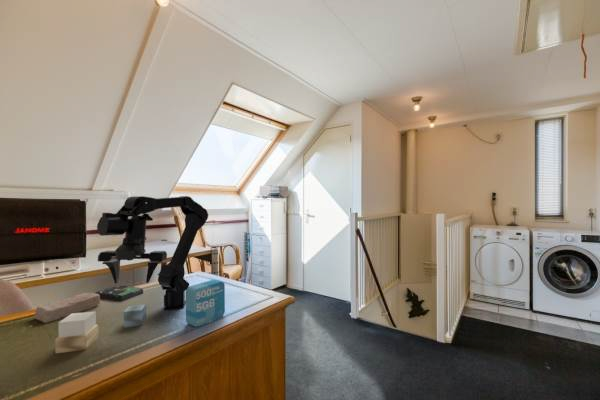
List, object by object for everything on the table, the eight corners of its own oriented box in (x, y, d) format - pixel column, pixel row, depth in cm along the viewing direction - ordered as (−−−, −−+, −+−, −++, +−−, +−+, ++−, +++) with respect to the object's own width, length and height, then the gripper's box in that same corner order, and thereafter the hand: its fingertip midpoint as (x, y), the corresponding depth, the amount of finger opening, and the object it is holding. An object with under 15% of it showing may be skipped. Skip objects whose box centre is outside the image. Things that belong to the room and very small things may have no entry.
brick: (46, 323, 90) (46, 309, 90) (33, 319, 94) (33, 305, 94) (101, 306, 105) (101, 294, 105) (88, 303, 109) (88, 291, 109)
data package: (193, 328, 85) (193, 289, 85) (185, 325, 88) (185, 287, 88) (225, 315, 95) (224, 280, 95) (216, 312, 98) (216, 278, 98)
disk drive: (94, 299, 114) (122, 302, 110) (94, 292, 114) (122, 295, 110) (117, 291, 124) (144, 293, 120) (117, 285, 124) (143, 287, 120)
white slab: (95, 325, 80) (95, 311, 80) (84, 335, 74) (84, 320, 74) (71, 327, 79) (71, 313, 79) (58, 337, 73) (58, 322, 73)
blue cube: (146, 319, 93) (146, 304, 93) (141, 325, 88) (141, 310, 88) (129, 321, 92) (129, 305, 92) (123, 327, 87) (123, 311, 87)
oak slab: (98, 337, 81) (98, 324, 81) (86, 350, 74) (86, 335, 74) (70, 341, 79) (70, 327, 79) (55, 354, 72) (55, 339, 72)
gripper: (89, 235, 81) (85, 289, 80) (158, 236, 85) (155, 288, 83) (108, 233, 92) (104, 281, 91) (168, 234, 96) (165, 280, 94)
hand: (132, 283), depth 90 cm, fingers open, 9 cm apart
